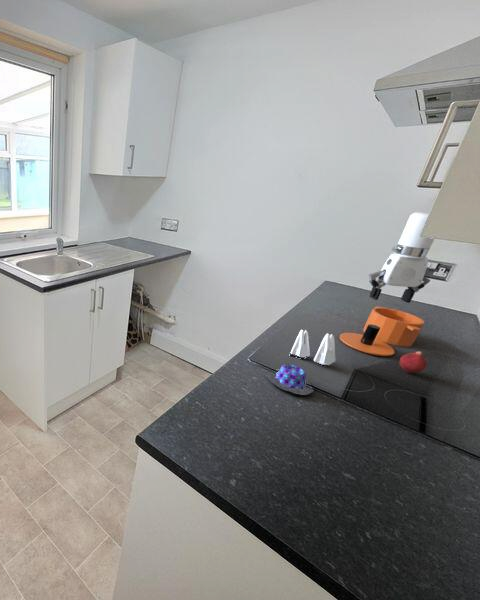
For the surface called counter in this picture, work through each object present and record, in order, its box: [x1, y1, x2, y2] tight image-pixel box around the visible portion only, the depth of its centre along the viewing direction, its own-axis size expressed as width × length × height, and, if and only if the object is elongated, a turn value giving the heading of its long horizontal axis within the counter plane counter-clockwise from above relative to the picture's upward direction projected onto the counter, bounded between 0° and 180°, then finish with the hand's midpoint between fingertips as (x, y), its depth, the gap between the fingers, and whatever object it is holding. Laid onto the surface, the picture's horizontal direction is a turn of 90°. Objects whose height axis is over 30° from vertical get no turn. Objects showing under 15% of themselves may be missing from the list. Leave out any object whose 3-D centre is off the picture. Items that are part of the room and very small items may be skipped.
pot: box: [362, 306, 426, 348], centre depth 121 cm, size 15×20×10 cm
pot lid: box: [339, 324, 395, 357], centre depth 114 cm, size 16×16×8 cm
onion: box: [398, 351, 427, 374], centre depth 99 cm, size 6×6×8 cm
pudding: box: [275, 363, 307, 389], centre depth 91 cm, size 12×12×5 cm
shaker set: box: [290, 329, 337, 366], centre depth 102 cm, size 12×4×11 cm, turn 49°
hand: (388, 299), depth 108 cm, fingers open, 9 cm apart
